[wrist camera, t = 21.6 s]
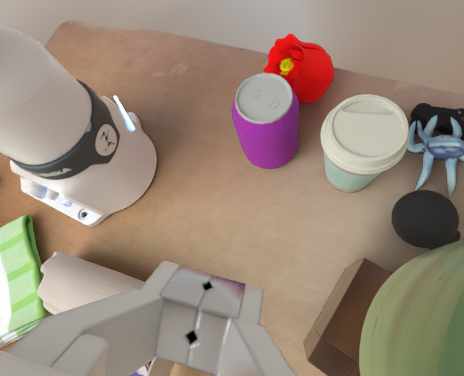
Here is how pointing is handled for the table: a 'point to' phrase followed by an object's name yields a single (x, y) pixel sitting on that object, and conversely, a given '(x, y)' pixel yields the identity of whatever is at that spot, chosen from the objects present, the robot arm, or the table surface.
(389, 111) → the coffee cup
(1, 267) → the dish towel
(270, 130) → the beverage can
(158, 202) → the table surface
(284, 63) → the flower
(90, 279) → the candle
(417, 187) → the figurine
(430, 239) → the light bulb
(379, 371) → the lamp
